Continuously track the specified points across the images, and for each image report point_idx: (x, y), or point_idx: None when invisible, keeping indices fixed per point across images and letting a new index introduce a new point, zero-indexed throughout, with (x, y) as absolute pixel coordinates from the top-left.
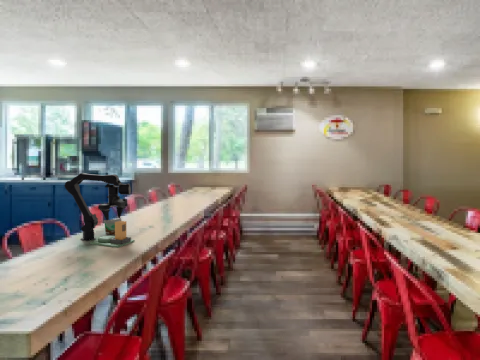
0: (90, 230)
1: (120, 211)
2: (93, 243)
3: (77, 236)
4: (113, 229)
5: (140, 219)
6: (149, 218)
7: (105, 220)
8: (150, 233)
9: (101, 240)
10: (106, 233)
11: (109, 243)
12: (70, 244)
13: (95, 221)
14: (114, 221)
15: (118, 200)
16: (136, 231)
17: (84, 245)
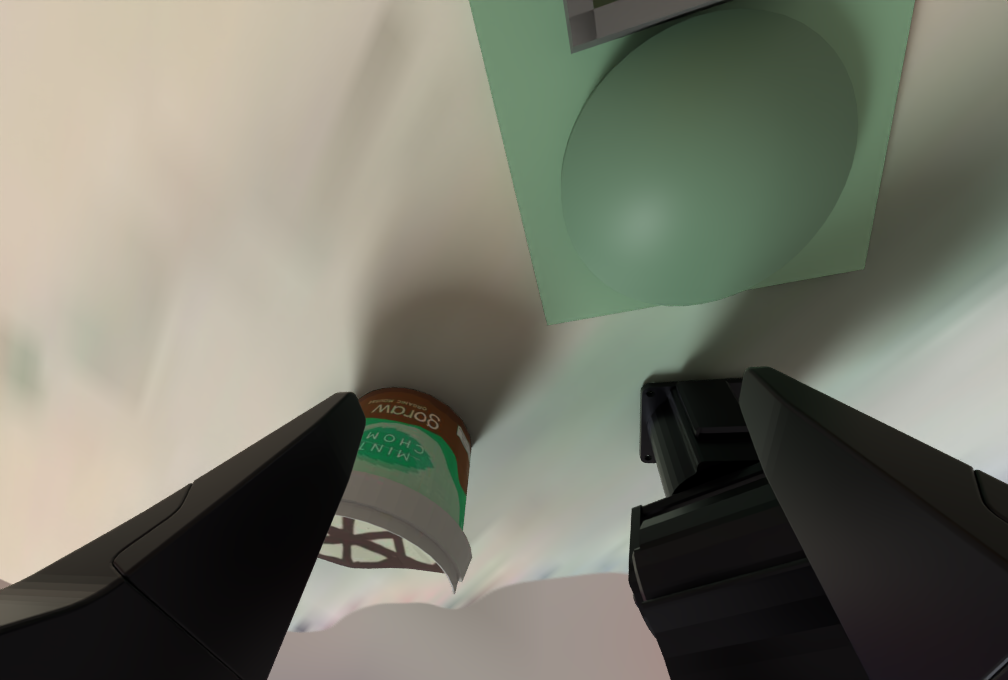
0: (754, 463)
1: (195, 538)
2: (866, 218)
3: None
4: (414, 428)
5: None
6: (12, 545)
7: (452, 574)
8: (57, 116)
9: (854, 134)
10: (469, 445)
11: None
12: (931, 400)
13: (747, 558)
14: (372, 498)
15: None
16: (196, 328)
17: (938, 259)
